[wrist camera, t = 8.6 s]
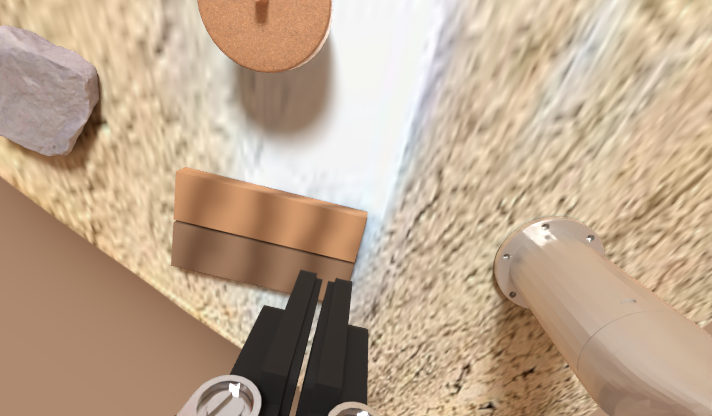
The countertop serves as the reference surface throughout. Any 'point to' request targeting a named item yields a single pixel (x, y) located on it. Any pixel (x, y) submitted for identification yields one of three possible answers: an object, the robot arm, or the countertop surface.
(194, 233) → the walnut board
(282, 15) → the lidded jar
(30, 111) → the stone block
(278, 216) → the chestnut plank
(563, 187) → the countertop surface
